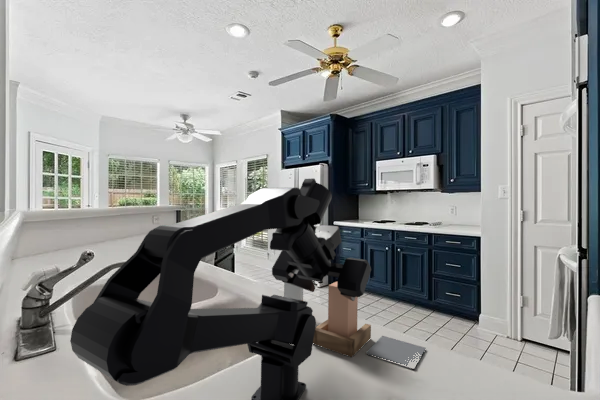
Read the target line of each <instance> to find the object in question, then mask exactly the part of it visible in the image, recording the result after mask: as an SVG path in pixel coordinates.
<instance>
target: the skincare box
mask: <svg viewBox="0 0 600 400" xmlns="http://www.w3.org/2000/svg"><path fill="white" fill-rule="evenodd" d="M283 285H284V286H283V297H287V298H292V299H296V300H301V301H304V289H303V288H300V287H297V286H294V285H291V284H288V283H284V282H283Z"/></svg>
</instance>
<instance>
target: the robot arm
mask: <svg viewBox="0 0 600 400" xmlns="http://www.w3.org/2000/svg"><path fill="white" fill-rule="evenodd" d="M332 197H333V195H332V192H331V190H330V189H328V188H327V187H326V186H325V185H323V184H321V183H318V182H317V181H316V179H315V178H304V180H303V181H302V183H301V186H300V188H299V187H262V188H259V189H258V190H256V191H254V192H253V193H251V194H249V195H248V197H247V198H246V199H245V200H244V201H243V202H241V203H239V204H235V205H232V206H228V207H225V208H222V209H219V210H215V211H212V212H209V213H207V214H206V213H205V214H202V215H199V216H195V217H192V218H188V219H186V220H183V221H180V222H176V223H172V224H168V225H167V224H164V225H163V224H162V225H159V226H157V227H155V228H153V229H151V230H149V232H148V233H146V235H145V237H143V240H142V241H141V243H140V245H139V246H138V248H137V249H136V251H135V252H134V253H133V254H132V255H131V256H130V257H129V258H128V259H126V261H125V262H124V263H123V264H122V265H121V266H119V268H118V269H117V270H116V271H115V272H113V274H112V275H110V277H109V278H108V279H107V280H106V282H105V283H104V285H103V287H102V289H101V290H100V292H99V293H98V295H97V296H96V298H95V299H94V301H93V303H91V304H90V305H89V306H87V307H86V308H85V309H84V310H83V312H82V313H81V314H79V316H78V317H77V318H76V321H75V323H74V324H73V327H72V329H71V334H70V341H69V342H70V345H71V349H72V350H71V351H72V352H73V353H74V354H75V356H76V357H77V358H78V359H80V360H81V361H82V362H84V363H86V365H89V366H90V367H92V368H94V369H95V370H97V371H98V372H100V373H102V374H103V375H104V376H106V377H109V378H110V379H112V380H114V381H115V382H116V383H118V384H119V385H123V386H125V387H127V386H128V387H129V386H137V385H140V384H144V383H146V382H148V381H150V380H153V379H155V378H158V377H160V376H163V375H165V374H167V373H170V372H172V371H174V370H176V369H177V368H178V367H179V366H180V365H181V364H182V362H184V360H186V358H187V357H189V355H192V354H195V353H201V352H208V351H214V350H218V349H219V350H220V349H225V348H231V347H236V346H242V345H247V348H248V352H249V353H251V354H256V355H258V356H261V357H260V358H261V359H260V386H259V387H258V388H257V389H256V391H255V392H254V393H253V394H252V396H251V400H300V398H301V396H302V395H303V393H304V392H305V389H306V387H307V384H306V383H305V382H303V381H300V380H299V366H300V365H301V364H303V363H304V362H305V361H306V360H307V359H308V358H310V356H311V355H312V350H313V345H314V344H313V339H314V333H315V327H317V326H316V325H317V323H316V322H317V320H316V317H315V316H314V314H313V308H311V307H310V306H308V303H309V302H308V301H306V300H305V301H304V300H303V301H301V300H296V299H292V298H287V297H284V295H278V294H273V295H271V296H269V295H265V294H262V295H261V302H260V303H259V305H258V306H257V307H237V308H236V307H235V308H233V307H232V308H230V307H229V308H227V307H225V308H192V304H193V295H194V294H193V293H194V292H193V291H194V279H195V272H196V270H197V268H198V266H199V264H200V262H201V260H202V259H204V258H206V257H208V256H211V255H213V254H215V253H217V252H220V251H222V250H223V249H227V248H228V247H230V246H233V245H235V244H237V243H239V242H241V241H243V240H246V239H248V238H250V237H253V236H254V235H257V234H259V233H262V232H264V231H267V230H275V231H274V232H273V233H271V234H272V236H271V240H270V243H269V249H270V250H273V251H281V252H280V254H278V257H277V258H276V260H275V262H274V264H273V266H272V267H271V276H273V278H275V280H276V281H281V282H282V283H283V284H284V283H288V284H291V285H294V286H297V287H300V288H303V290H306V291H309V292H311V293H313V292H315V290H316V286H315V284H314V282H318V283H322V282H323V280H324V278H325V277H327V276H328V277H334V278H337V281H336V282H337V288H338V290H339V291H340V292H341V293H340V294H341V295H343V296H344V297H346V298H348V299H350V300H352V301H354V300H355V297H358V298H360V297H362V296H364V294H365V293H364V292H365V291H366V288H367V284H368V281H369V279H370V275H371V271H372V267H371V265H370V263H369V261H368V260H367V259H362V258H354V257H347V258H345V260H344V262H343V263H337V262H331V261H334V260H335V258H336V255H337V254H336V252H335V250H336V249H337V247H338V246H339V245H340V244H342V242H343V241H342V237H341V232H340V228H339V226H338V225H324V224H323V225H321V223H322V221H323V218H324V216H325V214H326V211H327V209H328V207H329V206H330V203H331V201H332ZM158 277H159V281H158V286H157V293H156V295H155V297H154V299H153V301H147V300H144V299H140V298H139V297H140V295H141V294H142V292H144V291H145V290H146V288H148V286H149V285H151V283H152V282H153V281H155V279H156V278H158Z"/></svg>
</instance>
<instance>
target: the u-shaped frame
mask: <svg viewBox="0 0 600 400" xmlns="http://www.w3.org/2000/svg"><path fill="white" fill-rule="evenodd" d="M370 338H371V339H372V325H371V324H369V323H365V324H363V325H362V326H361V327H360V328H359V329H357V331H356V332H355V333H354V334H353V335H352V336H350V337H346V336H342V335H339V334H336V333H332V332H329V331H328V319H326V320H325V321H323V322H321V323H320V324H319V325H317V326H316V327H315V333H314V339H313V343H314V344H316V345H315V346H317V345H319V346H318V347H320V346H322V347H321V348H323V347H324V349H326V348H327V349H326V350H329V349H330V350H329V351H332V350H333V351H332V352H336V353H338V354H341V355H343V354H344V356H346V355H348V356H347V357H349V356H350V358H353V357H354V356H355V355H356V354H357V353H358V352H359V351H360V350H361V349H362V348H363V347H364V346H365V345H366V344H367V343H368V342H369V341H370V340H371V339H370ZM369 339H370V340H369ZM368 340H369V341H368ZM367 341H368V342H367ZM366 342H367V343H366ZM365 343H366V344H365ZM314 344H313V345H314ZM364 344H365V345H364ZM363 345H364V346H363ZM362 346H363V347H362ZM361 347H362V348H361ZM359 349H360V350H359ZM352 356H353V357H352Z"/></svg>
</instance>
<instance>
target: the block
mask: <svg viewBox="0 0 600 400" xmlns="http://www.w3.org/2000/svg"><path fill="white" fill-rule="evenodd" d="M327 292H328V293H327V294H328V297H327V298H328V299H327V300H328V303H327V304H328V306H327V308H328V310H327V311H328V314H327V316H328V317H327V320H328V331H329V332H332V333H336V334H339V335H342V336H346V337H350V336H352V335H353V334H354V333H355V332H356V331H357V330H358V310H359V309H358V306H359V304H358V302H359V299H358V298H359V297H355V300H354V301H352V300H350V299H348V298H346V297H344V296H343V295H341V294H340V293H341V292H340V291H339V290H338V288H337V281H334V282H333V283H331V284H328V291H327Z"/></svg>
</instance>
